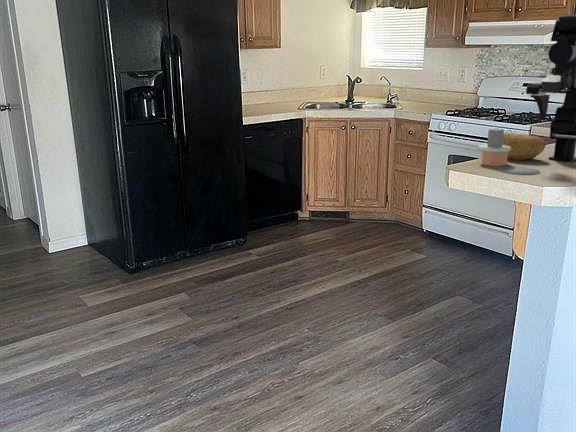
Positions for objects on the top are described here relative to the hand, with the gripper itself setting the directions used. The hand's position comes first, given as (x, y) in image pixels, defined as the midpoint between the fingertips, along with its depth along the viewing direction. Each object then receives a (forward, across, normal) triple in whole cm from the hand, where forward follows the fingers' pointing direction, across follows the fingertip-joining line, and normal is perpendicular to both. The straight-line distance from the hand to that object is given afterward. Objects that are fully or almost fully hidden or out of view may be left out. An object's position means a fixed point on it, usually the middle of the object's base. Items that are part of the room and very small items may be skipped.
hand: (559, 121), depth 155 cm
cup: (+13, -14, -9) cm, 21 cm away
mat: (+13, -3, -13) cm, 19 cm away
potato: (+13, -12, +4) cm, 19 cm away
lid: (+8, -14, -9) cm, 18 cm away
